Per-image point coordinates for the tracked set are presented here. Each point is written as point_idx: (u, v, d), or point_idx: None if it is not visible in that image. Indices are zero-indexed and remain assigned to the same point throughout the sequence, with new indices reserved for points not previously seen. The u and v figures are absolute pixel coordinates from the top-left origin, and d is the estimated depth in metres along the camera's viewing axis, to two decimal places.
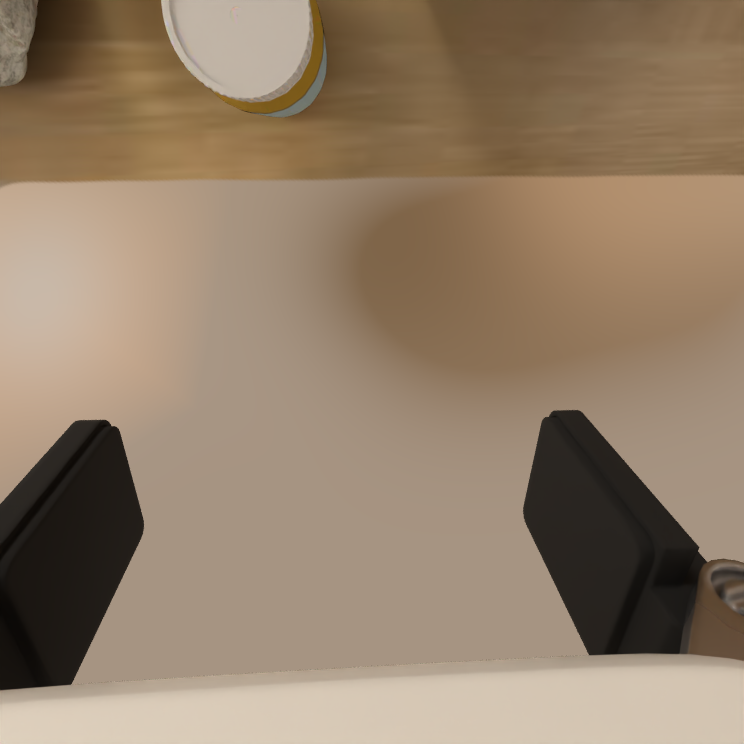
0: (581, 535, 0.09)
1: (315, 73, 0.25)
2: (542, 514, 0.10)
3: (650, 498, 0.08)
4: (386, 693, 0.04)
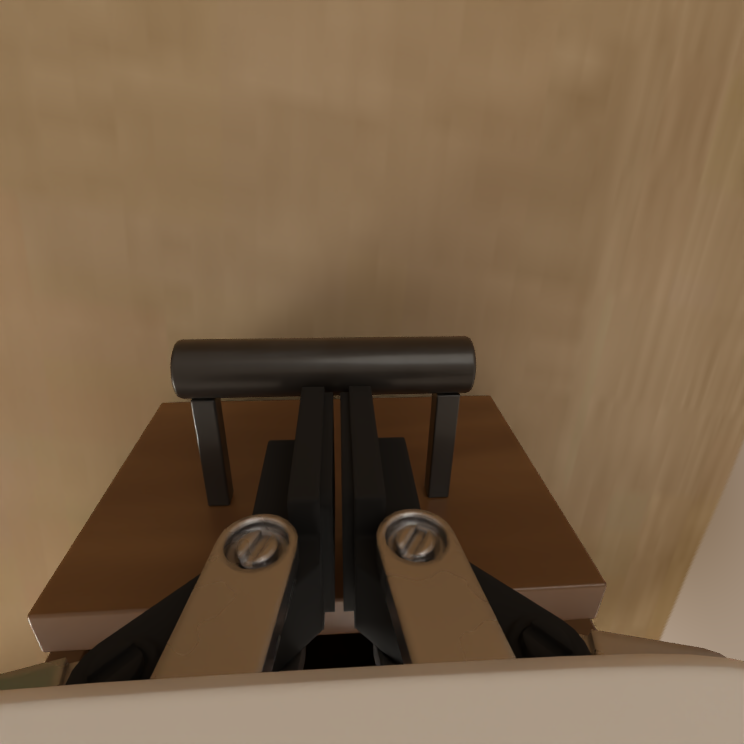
0: None
1: None
2: (341, 482, 0.11)
3: (374, 458, 0.08)
4: (386, 693, 0.04)
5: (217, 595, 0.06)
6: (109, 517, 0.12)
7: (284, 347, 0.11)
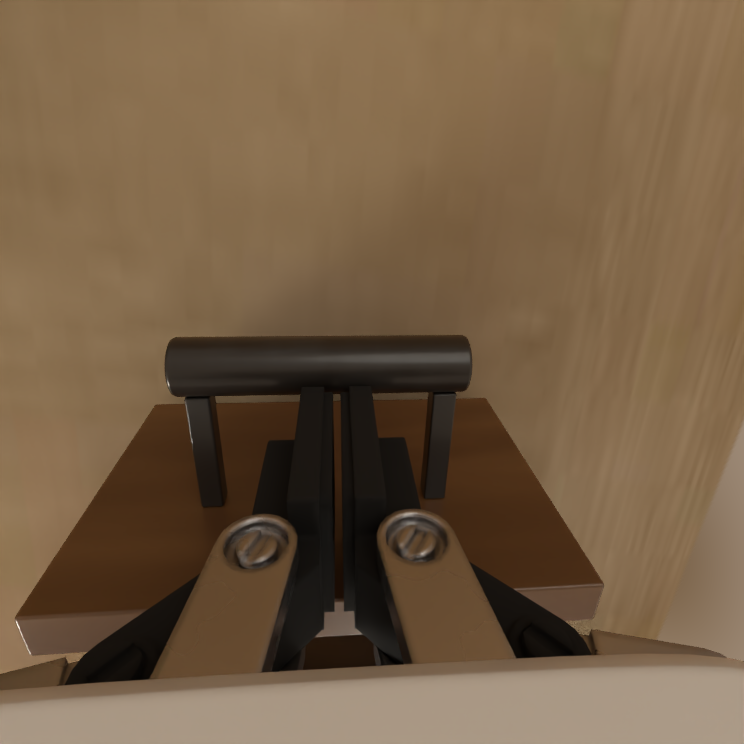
0: None
1: None
2: None
3: (375, 458, 0.08)
4: (386, 693, 0.04)
5: (217, 595, 0.06)
6: (100, 518, 0.12)
7: (279, 344, 0.11)
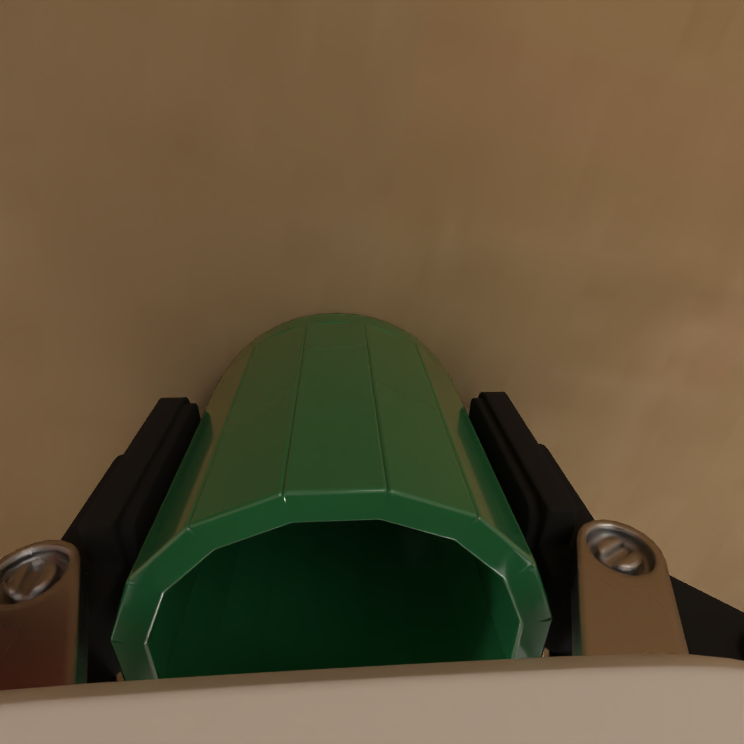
0: None
1: None
2: None
3: (547, 467, 0.08)
4: (386, 693, 0.04)
5: None
6: None
7: None
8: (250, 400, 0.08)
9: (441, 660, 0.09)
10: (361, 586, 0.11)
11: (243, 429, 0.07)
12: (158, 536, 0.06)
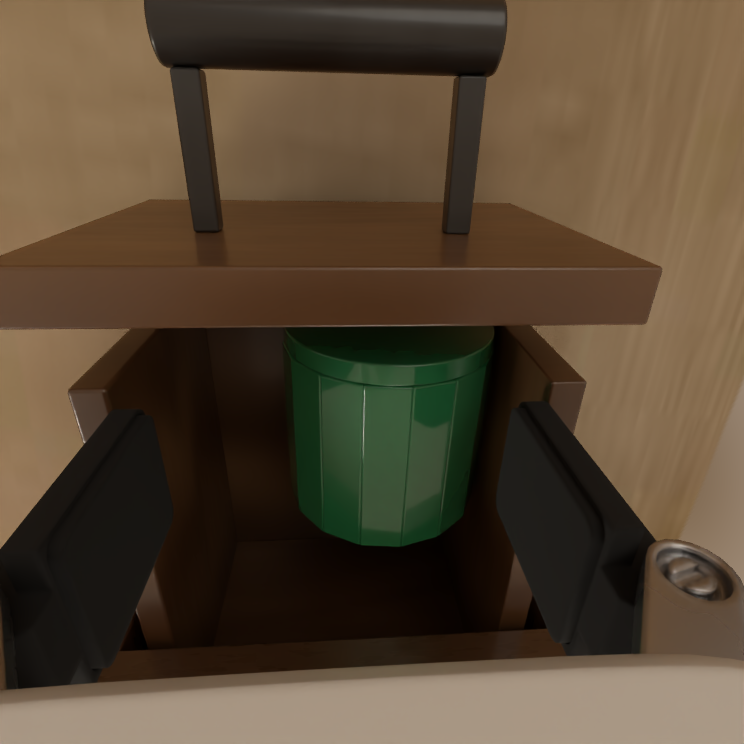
0: (543, 520, 0.09)
1: None
2: (511, 501, 0.11)
3: (604, 483, 0.08)
4: (386, 693, 0.04)
5: None
6: (79, 233, 0.11)
7: None
8: (374, 475, 0.13)
9: None
10: None
11: (375, 500, 0.13)
12: (336, 527, 0.14)
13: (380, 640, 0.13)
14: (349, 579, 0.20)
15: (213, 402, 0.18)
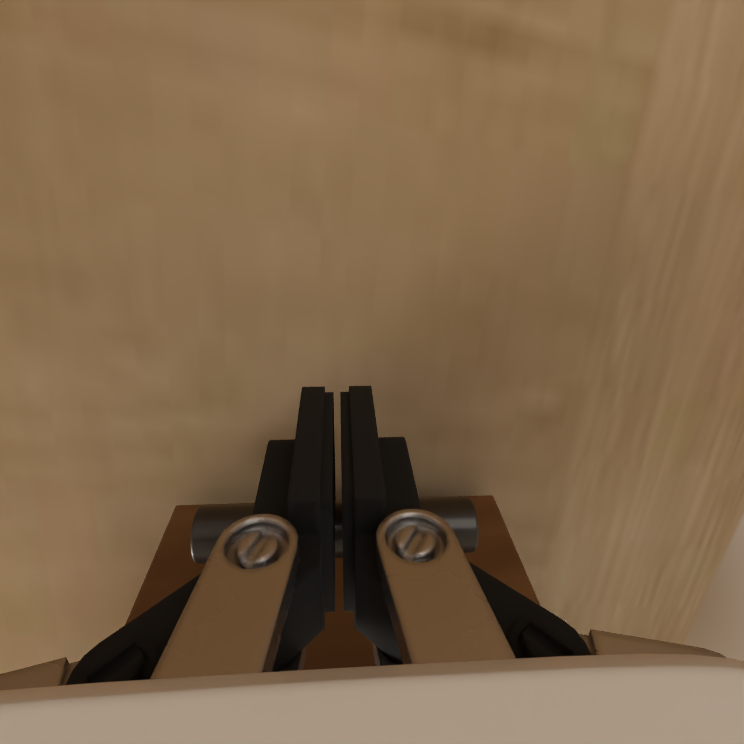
0: None
1: None
2: None
3: (374, 458, 0.08)
4: (386, 693, 0.04)
5: (217, 595, 0.06)
6: None
7: None
8: None
9: None
10: None
11: None
12: None
13: None
14: None
15: None
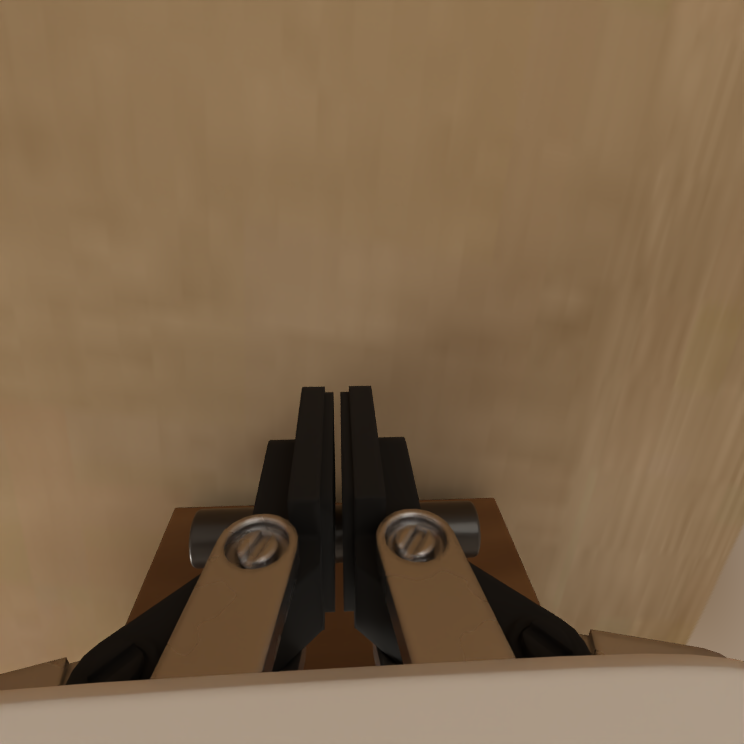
0: None
1: None
2: None
3: (374, 458, 0.08)
4: (386, 693, 0.04)
5: (217, 595, 0.06)
6: None
7: None
8: None
9: None
10: None
11: None
12: None
13: None
14: None
15: None
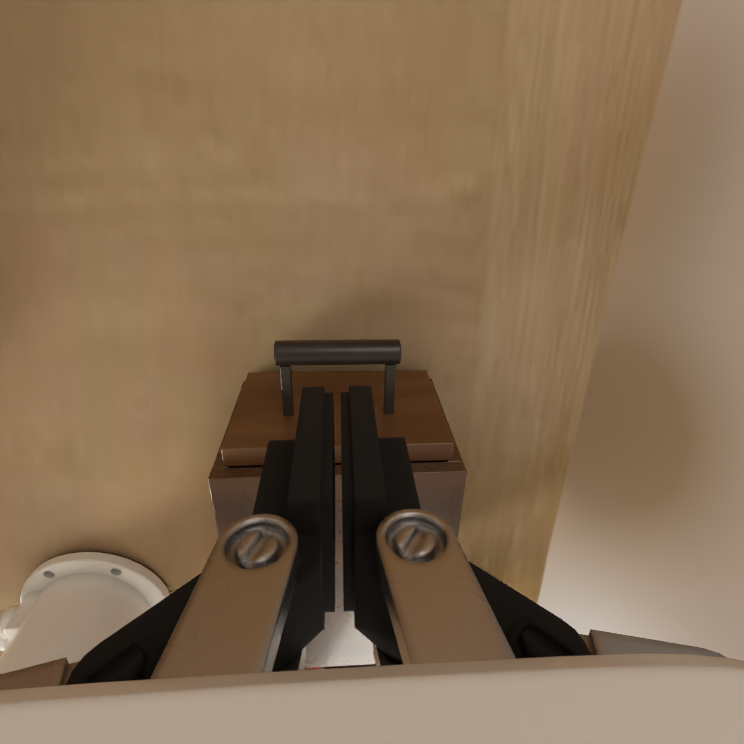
0: None
1: None
2: None
3: (374, 458, 0.08)
4: (386, 693, 0.04)
5: (217, 595, 0.06)
6: (240, 419, 0.28)
7: (320, 344, 0.26)
8: None
9: None
10: None
11: None
12: None
13: None
14: None
15: None
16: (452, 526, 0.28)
